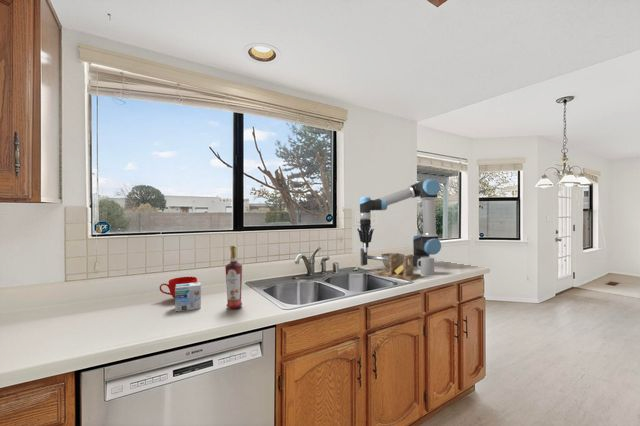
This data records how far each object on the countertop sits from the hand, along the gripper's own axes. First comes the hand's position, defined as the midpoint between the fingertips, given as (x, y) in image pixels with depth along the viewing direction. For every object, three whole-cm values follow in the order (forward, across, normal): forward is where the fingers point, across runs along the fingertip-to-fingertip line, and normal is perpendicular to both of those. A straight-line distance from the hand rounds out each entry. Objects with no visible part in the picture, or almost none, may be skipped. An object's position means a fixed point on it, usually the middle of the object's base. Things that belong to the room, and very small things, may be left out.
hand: (365, 252), depth 212 cm
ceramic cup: (+14, -30, -117) cm, 122 cm away
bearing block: (+13, +24, 0) cm, 28 cm away
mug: (+14, +35, +18) cm, 42 cm away
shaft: (+9, +10, 0) cm, 14 cm away
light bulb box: (+14, -14, -119) cm, 121 cm away
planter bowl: (+14, +12, +16) cm, 24 cm away
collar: (+11, +25, 0) cm, 28 cm away
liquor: (+14, +1, -105) cm, 106 cm away
